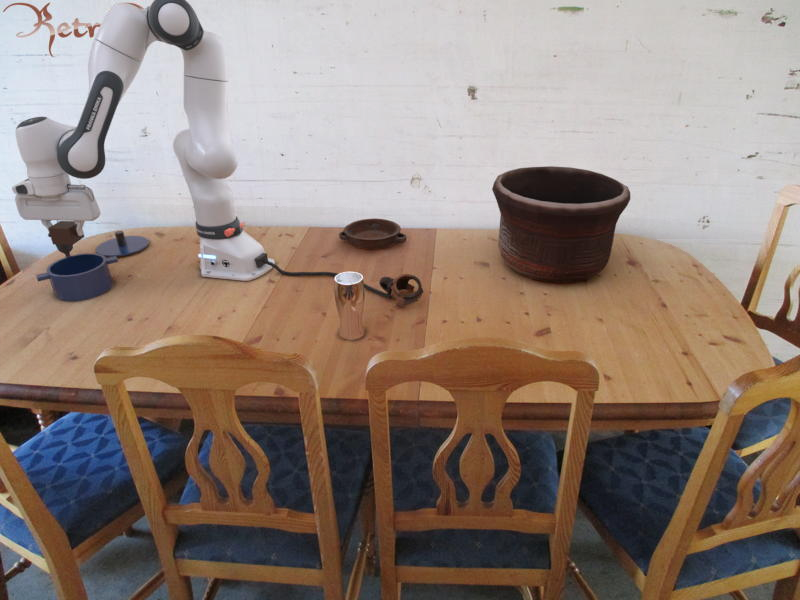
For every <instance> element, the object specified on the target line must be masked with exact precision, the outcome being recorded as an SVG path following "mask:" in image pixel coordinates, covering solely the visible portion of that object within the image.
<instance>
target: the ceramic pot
mask: <svg viewBox="0 0 800 600" xmlns="http://www.w3.org/2000/svg"><path fill="white" fill-rule="evenodd" d="M491 190H492V193H493V195H494V197H495V200H496V203H497V207H498V209H499V213H500V217H499V218H500V219H499V228H498V229H499V230H498V241H497V242H498V243H497V245H498V249H499V250H498V251H499V254H500V256H501V258H502V260H503V261H504V262H505V264H506V265H507V266H508V267H510V268H511V269H512V270H513V271H514V272H516V273H518V274H519V275H522V276H524V277H526V278H529V279H533V280H536V281H541V282H547V283H561V284H562V283H575V282H582V281H586V280H589V279H591V278H592V277H594V276H596V275H597V274H599V273H601V272H602V271H603V270H605V268H606V266H607V265H608V263H609V261H610V258H611V254H612V250H613V243H614V239H615V238H614V237H615V232H616V227H617V223H618V221H619V219H620V216H621V215H622V213H623V212H624V211H625V209H626V208H627V207H628V205H629V203H630V201H631V191H630V189H629V187H628V186H627V185H625V184H624V183H622V182H621V181H619V180H617V179H615V178H613V177H610V176H607V175H605V174H603V173H600V172H596V171H592V170H589V169H583V168H576V167H571V166H570V167H569V166H554V165H553V166H552V165H551V166H548V165H547V166H529V167H519V168H515V169H510V170H507V171H505V172H503V173H501V174H499V175H497V177H496V178H495V180H494V182H493V184H492V187H491Z"/></svg>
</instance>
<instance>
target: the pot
mask: <svg viewBox="0 0 800 600" xmlns="http://www.w3.org/2000/svg"><path fill="white" fill-rule="evenodd" d="M118 262H119V259H118V257H116V256H113V257H106V256H103V255H101V254H97V252H96V253H94V252H93V253H91V252H87V253H78V254H73V255H70V256H68V257H66V256H65V257H63V258H60V259H58V260H56V261H54V262H52V263H50V265H48V267H47V268H46V272H43V273H39V274H35V277H36V280H37V282H38V283H39V282H42V281H46V280H49V283H50V285H51V288H52V291H53V294H54V295H55V297H56V299H58V300H59V301H64V302H81V301H85V300H90V299H94V298H97V297H99V296H102V295H103V294H106V293H107V292H108V291H109V290H111V288H112V287H113V285H114V281H113V277H112V273H111V269H110V266H109V265H111V264H112V265H113V264H117V263H118Z"/></svg>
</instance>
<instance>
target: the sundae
mask: <svg viewBox="0 0 800 600" xmlns="http://www.w3.org/2000/svg"><path fill="white" fill-rule="evenodd" d="M56 222H59V220H56ZM47 237H48V238H51V237H50V234H49V233H48V234H47ZM55 247H56V249H57V251H58V252H60V253H62V254H64V255H65V257H68V256H71V252H72V251H73V249H74V245H55Z"/></svg>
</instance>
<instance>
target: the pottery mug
mask: <svg viewBox="0 0 800 600" xmlns="http://www.w3.org/2000/svg"><path fill="white" fill-rule="evenodd" d="M411 280H413V281H415V282H416V284H417V287H418V288H417V290H416V291H415V292H414V289H415V286H414V285H413V284H410V283H409V282H410V281H411ZM378 283H379V286H380V288H381V289H383V290H384V291H385V293H387V294H388V295H391V294H393V296H394V297H395V298H396V299H397V300H396V303H395V305H396V307H397V308H400V309H401V308H403V307H404V306H405V307H406V306H409V305H412V304H414V303H416V302H418V301H419V299H421V297H422V296H423V293H424V289H423V286H422V282H421V280H420V278H418V277H417V276H416V275H414V274H409V273H403V274H402V273H401V274H400V275H398V276H396V277H395V278H393V277H389V276H382V277H381V278H380V280H379V282H378ZM401 291H407V292H410V293H411V294H406V293H404V294H403V296H402V295H401Z"/></svg>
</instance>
